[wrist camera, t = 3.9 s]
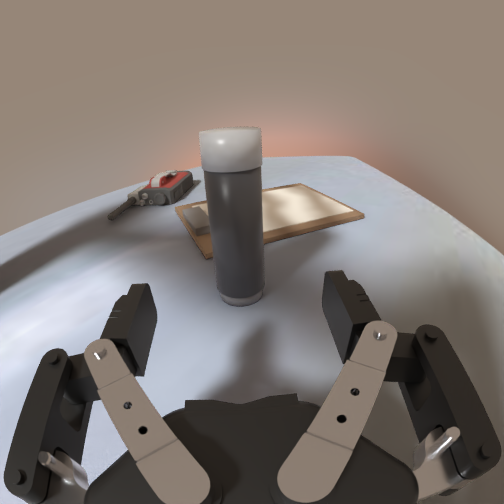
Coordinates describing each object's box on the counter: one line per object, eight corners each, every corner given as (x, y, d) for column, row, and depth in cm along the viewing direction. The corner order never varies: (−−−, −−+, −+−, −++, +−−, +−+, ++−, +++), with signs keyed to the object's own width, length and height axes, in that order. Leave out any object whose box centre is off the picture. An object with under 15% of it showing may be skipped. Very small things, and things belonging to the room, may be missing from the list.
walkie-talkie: (157, 185, 58) (105, 226, 41) (154, 165, 56) (99, 199, 39) (197, 183, 57) (155, 226, 40) (195, 162, 55) (149, 196, 38)
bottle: (227, 314, 23) (209, 136, 17) (210, 286, 27) (192, 131, 20) (274, 299, 25) (272, 129, 18) (253, 274, 28) (245, 125, 21)
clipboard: (206, 259, 31) (204, 245, 30) (175, 210, 44) (173, 200, 43) (363, 218, 38) (365, 207, 38) (300, 186, 51) (300, 177, 50)
